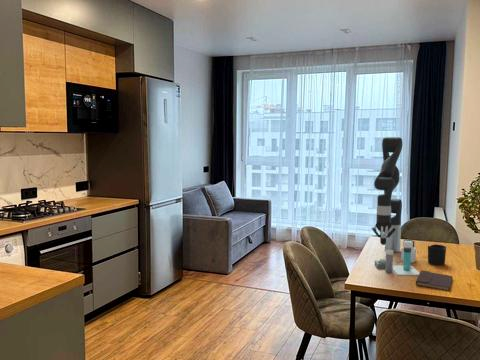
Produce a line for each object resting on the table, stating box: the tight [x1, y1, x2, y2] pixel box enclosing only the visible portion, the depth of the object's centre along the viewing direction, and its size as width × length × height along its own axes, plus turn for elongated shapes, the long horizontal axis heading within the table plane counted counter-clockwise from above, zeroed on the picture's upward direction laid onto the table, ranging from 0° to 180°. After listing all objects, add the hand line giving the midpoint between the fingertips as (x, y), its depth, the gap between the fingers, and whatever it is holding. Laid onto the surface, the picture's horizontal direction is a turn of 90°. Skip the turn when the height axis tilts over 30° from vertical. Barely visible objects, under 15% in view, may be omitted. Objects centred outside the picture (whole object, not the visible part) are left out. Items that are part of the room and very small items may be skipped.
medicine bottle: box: [400, 239, 417, 264], centre depth 248 cm, size 7×7×12 cm
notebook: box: [415, 269, 453, 292], centre depth 210 cm, size 15×20×2 cm
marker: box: [402, 247, 412, 271], centre depth 228 cm, size 4×4×12 cm
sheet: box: [393, 265, 420, 277], centre depth 228 cm, size 16×12×1 cm
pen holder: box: [427, 243, 447, 266], centre depth 242 cm, size 9×9×10 cm
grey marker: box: [384, 249, 394, 274], centre depth 226 cm, size 4×4×12 cm
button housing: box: [374, 260, 386, 270], centre depth 236 cm, size 7×7×2 cm
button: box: [379, 257, 386, 263], centre depth 236 cm, size 3×3×3 cm
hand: (383, 244), depth 235 cm, fingers closed
